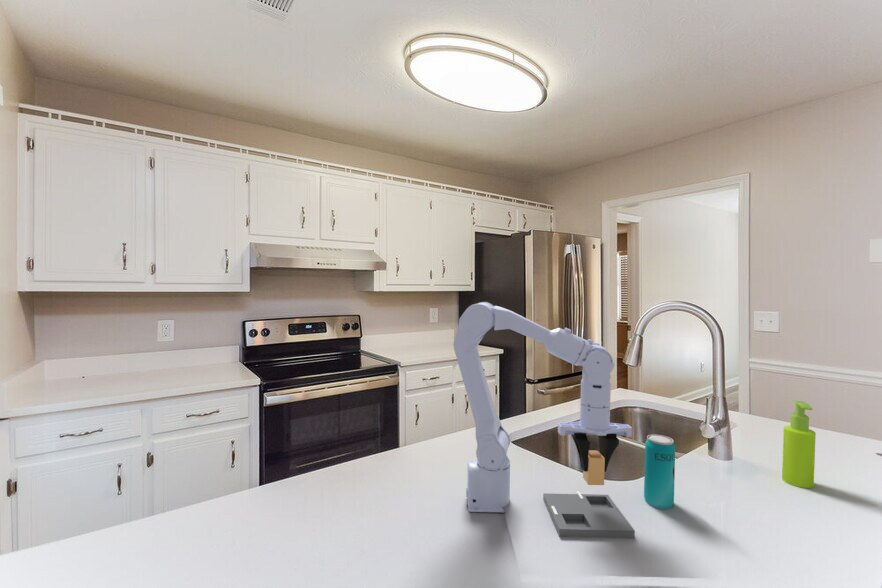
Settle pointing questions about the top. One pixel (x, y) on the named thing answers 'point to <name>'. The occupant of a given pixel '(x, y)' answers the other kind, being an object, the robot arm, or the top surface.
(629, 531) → the socket board
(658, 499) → the beverage can
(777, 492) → the top surface
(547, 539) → the top surface
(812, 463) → the soap dispenser
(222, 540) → the top surface
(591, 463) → the orange plug
